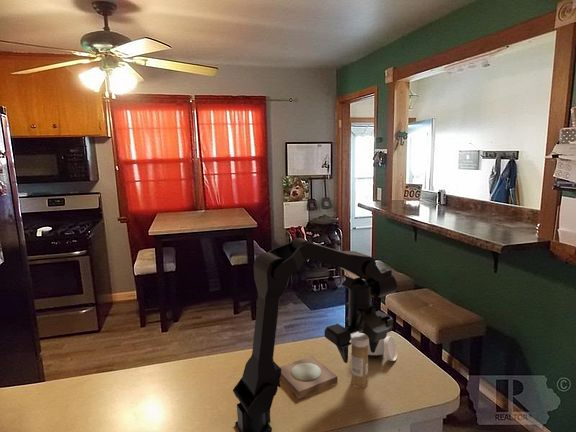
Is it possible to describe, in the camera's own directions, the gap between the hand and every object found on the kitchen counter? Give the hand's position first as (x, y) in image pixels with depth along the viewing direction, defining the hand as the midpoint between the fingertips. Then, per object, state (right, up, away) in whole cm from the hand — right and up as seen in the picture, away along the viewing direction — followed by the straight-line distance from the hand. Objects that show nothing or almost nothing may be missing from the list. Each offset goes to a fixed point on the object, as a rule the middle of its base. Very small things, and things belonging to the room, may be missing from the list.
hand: (359, 357), depth 98 cm
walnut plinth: (-14, -7, +4) cm, 16 cm away
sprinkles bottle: (0, -8, +1) cm, 8 cm away
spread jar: (+8, -5, +15) cm, 18 cm away
